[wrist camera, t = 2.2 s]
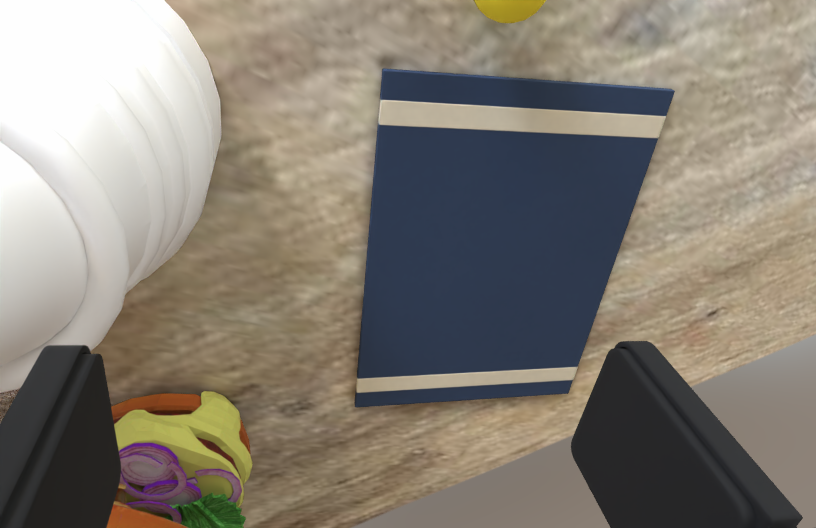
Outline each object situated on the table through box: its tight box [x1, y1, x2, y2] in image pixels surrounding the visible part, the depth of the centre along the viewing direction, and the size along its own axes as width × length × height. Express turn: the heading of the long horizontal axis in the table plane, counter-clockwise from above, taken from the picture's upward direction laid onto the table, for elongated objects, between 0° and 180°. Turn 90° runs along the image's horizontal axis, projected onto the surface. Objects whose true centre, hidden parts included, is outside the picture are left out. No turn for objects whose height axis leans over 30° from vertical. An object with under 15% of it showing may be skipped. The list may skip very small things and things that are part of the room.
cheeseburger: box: [107, 391, 253, 528], centre depth 32 cm, size 10×11×10 cm
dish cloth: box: [355, 69, 675, 407], centre depth 32 cm, size 21×15×1 cm
